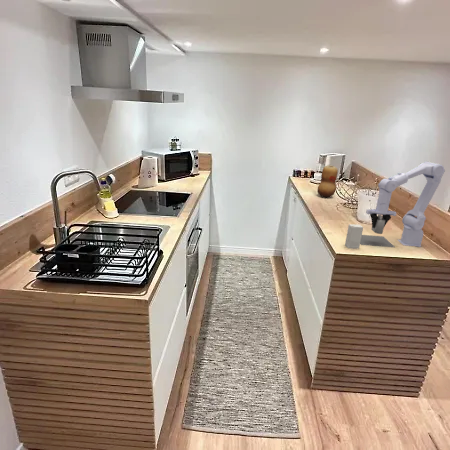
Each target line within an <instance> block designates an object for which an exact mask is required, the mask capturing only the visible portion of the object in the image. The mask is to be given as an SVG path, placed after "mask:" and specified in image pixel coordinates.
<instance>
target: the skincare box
mask: <svg viewBox="0 0 450 450" xmlns="http://www.w3.org/2000/svg"><path fill="white" fill-rule="evenodd" d="M347 226H348V227H347V233H346V238H345V242H344V243H345V244H344V246H345V247H346V248H347V249H353V250H356V249H360V247H361V244H360V241H361V236H362V235H363V230H364V227H363V226H362V225H361V224H353V223H352V224H348V225H347Z"/></svg>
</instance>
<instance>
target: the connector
mask: <svg viewBox="0 0 450 450" xmlns="http://www.w3.org/2000/svg"><path fill="white" fill-rule="evenodd" d="M377 216H378V219H377V221H376V225H375V228H373V227H372V226H371V229H370V230H371V231H373V233H375V234H378V235H382V234H383V232H384V229H385V227H384V225H385V220H384V219H383V218H382V217H383V215H379V214H377ZM385 226H386V225H385Z"/></svg>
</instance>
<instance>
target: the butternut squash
mask: <svg viewBox="0 0 450 450" xmlns="http://www.w3.org/2000/svg"><path fill="white" fill-rule="evenodd" d="M322 168H323V169H322V171H321V174H320V175H321V176H320V178H321V179H320V182H319V184H318V186H317V194H318V195H319V196H321V197H322V196H323V198H330V197H332V196H333V195H335V193H336V191H337V190H336V189H337V187H336V182H337V179H338V173H339V171H338V170H339V169H338V168H337V166H334V165H328V164H327V165H325V166H324V167H322Z"/></svg>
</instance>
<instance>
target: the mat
mask: <svg viewBox="0 0 450 450" xmlns="http://www.w3.org/2000/svg"><path fill="white" fill-rule="evenodd" d="M360 246H370V247H371V246H372V247H384V248H396V247H395V245H394V244H392V242H390V241H389V240H388V239H387V238H386V237H385V236H382V235H371V234H370V235H368V234H362V236H361V241H360Z"/></svg>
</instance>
